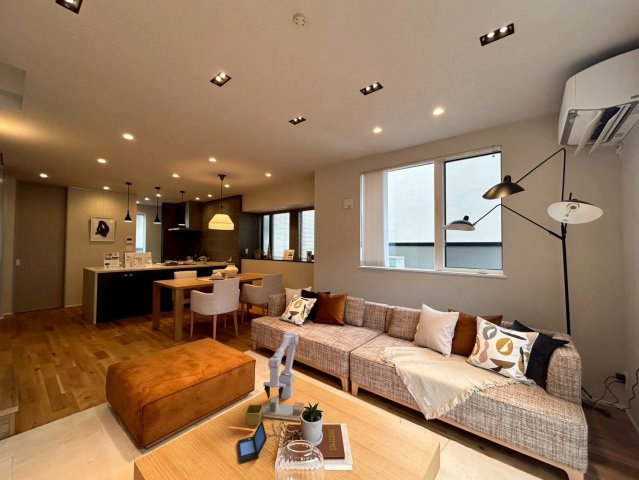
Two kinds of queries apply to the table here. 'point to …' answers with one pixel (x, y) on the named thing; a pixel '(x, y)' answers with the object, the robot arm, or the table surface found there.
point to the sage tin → (274, 404)
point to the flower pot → (253, 414)
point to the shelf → (280, 412)
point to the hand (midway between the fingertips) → (274, 398)
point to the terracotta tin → (298, 408)
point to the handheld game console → (252, 445)
